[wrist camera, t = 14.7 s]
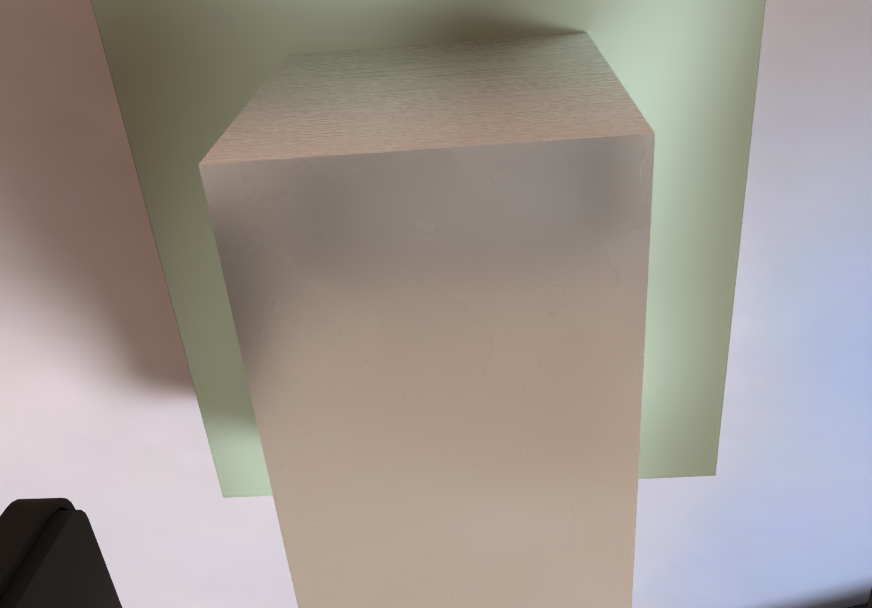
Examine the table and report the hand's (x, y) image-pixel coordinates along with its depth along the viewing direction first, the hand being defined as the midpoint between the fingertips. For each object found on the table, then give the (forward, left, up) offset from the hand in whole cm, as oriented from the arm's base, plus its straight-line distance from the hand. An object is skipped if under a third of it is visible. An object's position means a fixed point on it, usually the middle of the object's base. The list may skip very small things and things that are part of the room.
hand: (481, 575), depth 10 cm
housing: (0, 0, -9) cm, 9 cm away
